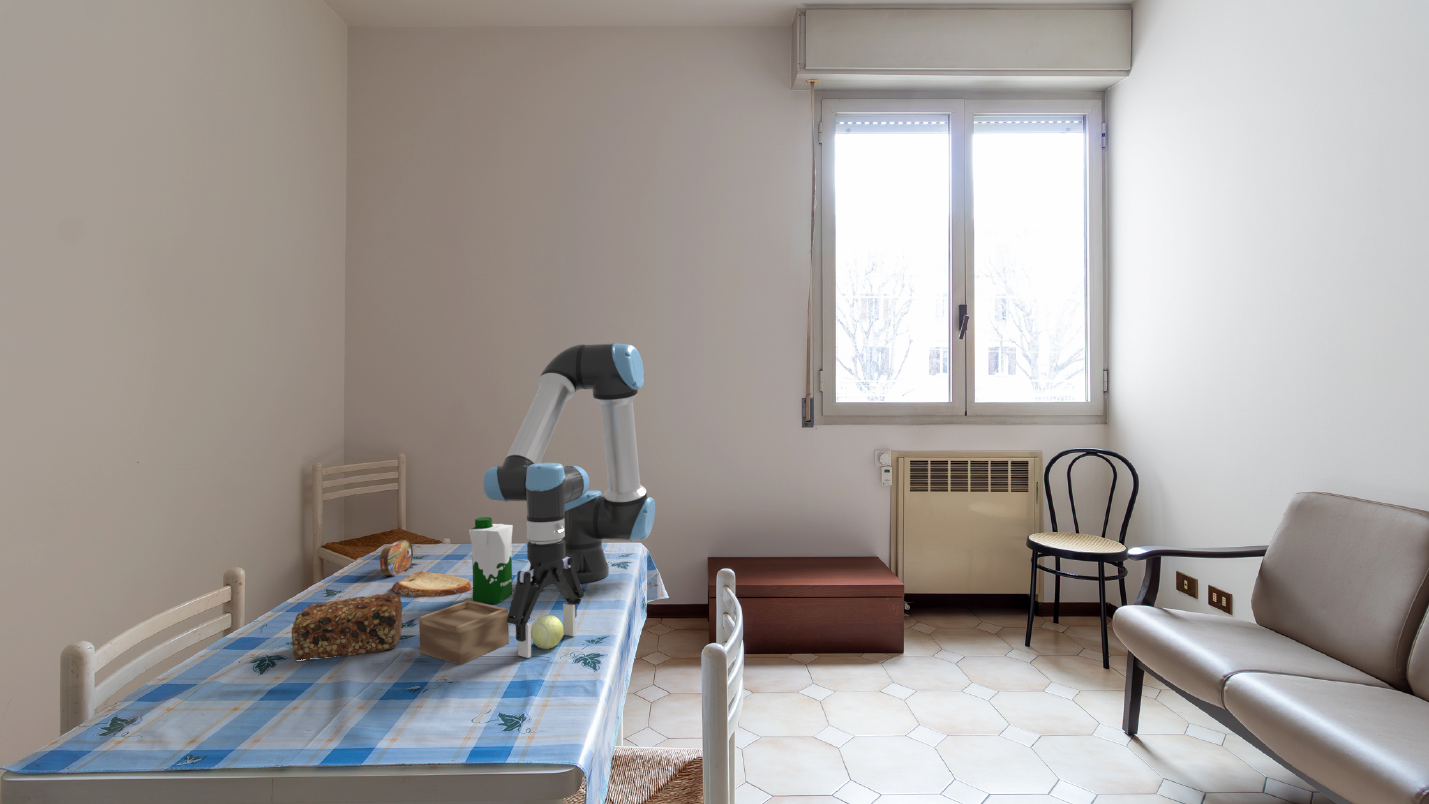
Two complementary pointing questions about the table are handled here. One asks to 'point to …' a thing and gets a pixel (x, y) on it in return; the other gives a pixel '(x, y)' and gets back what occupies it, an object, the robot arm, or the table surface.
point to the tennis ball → (547, 631)
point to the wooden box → (463, 631)
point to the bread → (348, 627)
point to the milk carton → (491, 561)
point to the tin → (396, 558)
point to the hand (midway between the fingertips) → (548, 645)
